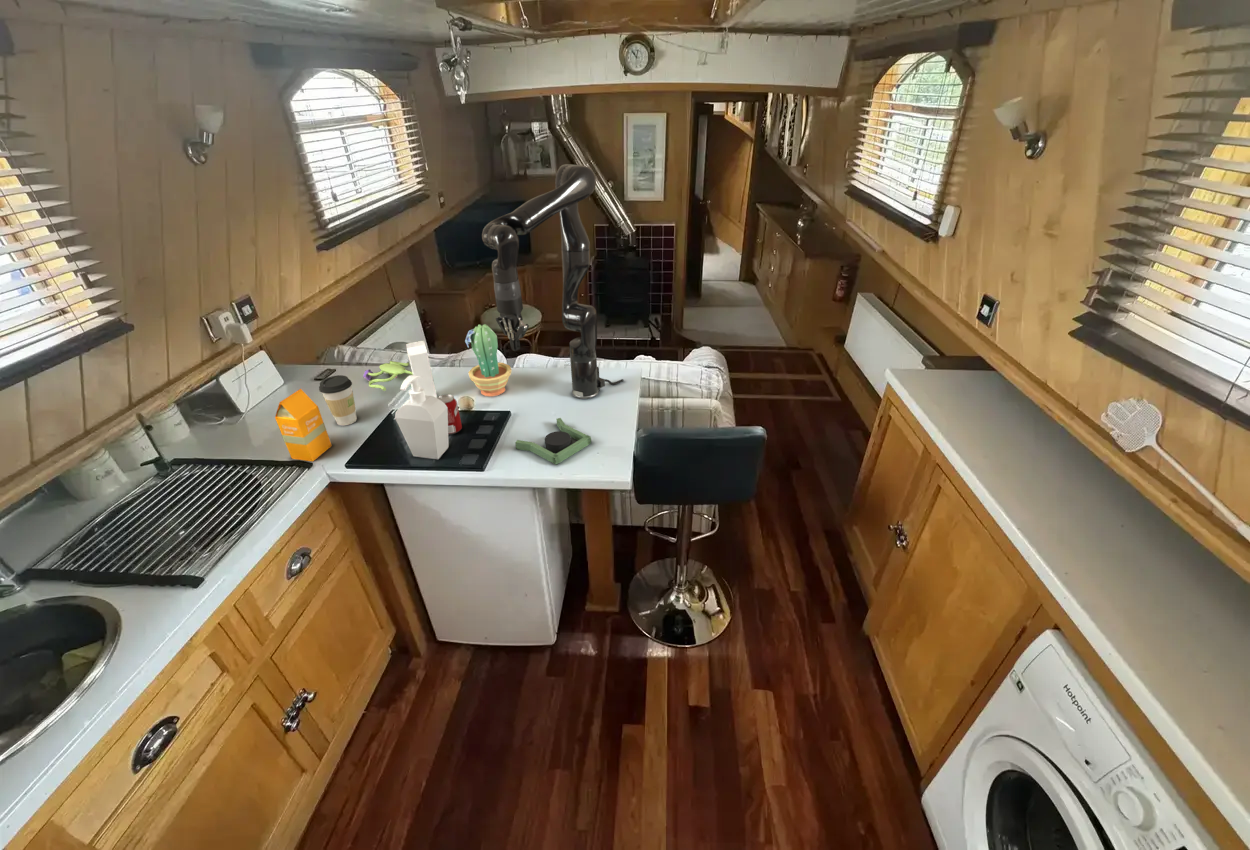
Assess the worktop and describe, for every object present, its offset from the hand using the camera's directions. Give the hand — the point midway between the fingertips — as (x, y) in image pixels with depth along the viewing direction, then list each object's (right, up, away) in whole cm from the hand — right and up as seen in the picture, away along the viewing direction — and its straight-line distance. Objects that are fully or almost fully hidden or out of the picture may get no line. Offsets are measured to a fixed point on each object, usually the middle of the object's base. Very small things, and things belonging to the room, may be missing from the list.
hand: (515, 349), depth 171 cm
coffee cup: (-60, -22, +16) cm, 66 cm away
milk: (-37, -14, +28) cm, 49 cm away
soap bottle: (-26, -32, -1) cm, 41 cm away
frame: (+12, -29, +2) cm, 32 cm away
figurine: (-55, -7, +41) cm, 69 cm away
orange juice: (-63, -32, 0) cm, 71 cm away
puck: (+13, -30, +1) cm, 33 cm away
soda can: (-23, -25, +10) cm, 35 cm away
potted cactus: (-15, -11, +33) cm, 38 cm away
